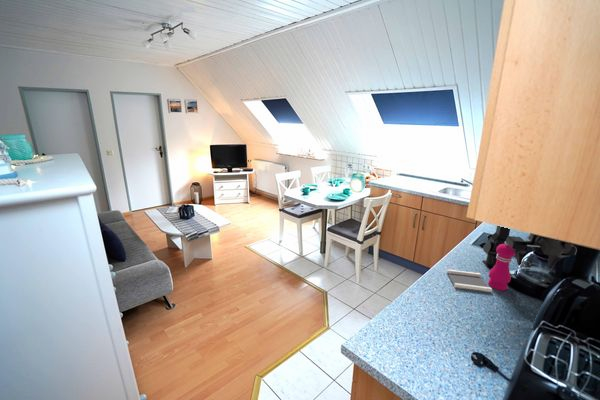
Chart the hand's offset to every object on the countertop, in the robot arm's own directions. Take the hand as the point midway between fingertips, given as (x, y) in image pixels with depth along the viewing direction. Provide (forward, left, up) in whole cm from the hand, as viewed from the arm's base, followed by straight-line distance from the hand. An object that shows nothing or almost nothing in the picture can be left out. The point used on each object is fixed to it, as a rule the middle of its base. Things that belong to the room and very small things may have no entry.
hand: (533, 266), depth 99 cm
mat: (-9, -16, -14) cm, 24 cm away
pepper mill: (-9, -5, -15) cm, 18 cm away
